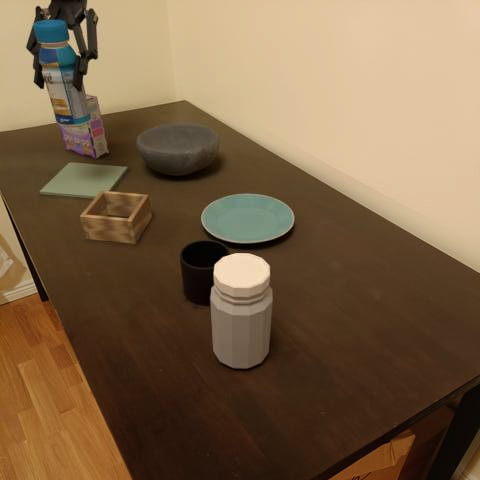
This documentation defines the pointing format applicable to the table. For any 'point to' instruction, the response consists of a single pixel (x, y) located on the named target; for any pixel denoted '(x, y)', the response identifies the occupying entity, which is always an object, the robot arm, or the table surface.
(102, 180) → the mat
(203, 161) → the bowl
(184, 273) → the mug
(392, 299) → the table surface
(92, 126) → the candy box
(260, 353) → the jar
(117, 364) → the table surface
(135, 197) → the wooden box
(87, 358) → the table surface
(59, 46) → the beverage bottle
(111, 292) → the table surface
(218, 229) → the plate
